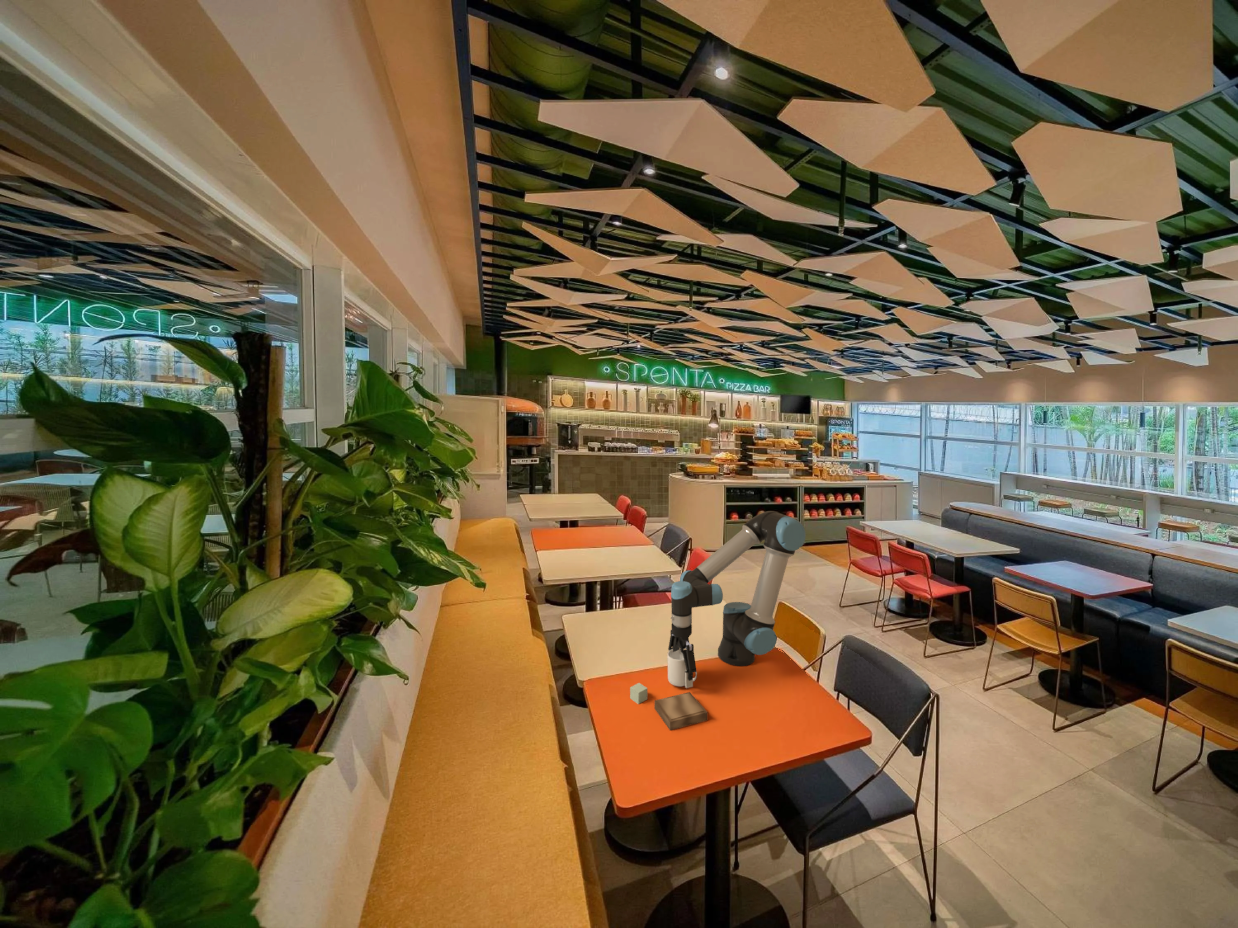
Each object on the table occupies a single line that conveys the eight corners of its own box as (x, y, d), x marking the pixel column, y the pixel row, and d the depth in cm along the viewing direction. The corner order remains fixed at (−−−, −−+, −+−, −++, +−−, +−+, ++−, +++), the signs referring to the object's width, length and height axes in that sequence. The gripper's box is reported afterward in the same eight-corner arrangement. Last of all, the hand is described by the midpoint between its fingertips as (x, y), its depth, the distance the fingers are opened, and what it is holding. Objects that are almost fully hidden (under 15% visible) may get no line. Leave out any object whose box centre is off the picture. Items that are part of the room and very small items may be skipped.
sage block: (638, 693, 172) (639, 682, 171) (647, 699, 169) (647, 687, 168) (630, 698, 169) (630, 687, 169) (638, 704, 166) (638, 692, 165)
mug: (690, 693, 169) (690, 665, 168) (663, 681, 177) (663, 654, 176) (702, 682, 176) (702, 655, 174) (676, 671, 184) (675, 645, 182)
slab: (689, 699, 168) (689, 691, 168) (707, 720, 157) (707, 711, 157) (654, 708, 163) (654, 699, 163) (670, 730, 152) (670, 721, 152)
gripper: (659, 612, 183) (659, 665, 186) (687, 639, 162) (688, 698, 165) (676, 609, 186) (676, 661, 189) (706, 635, 165) (706, 693, 168)
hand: (681, 678), depth 177 cm, fingers closed on mug, 10 cm apart
